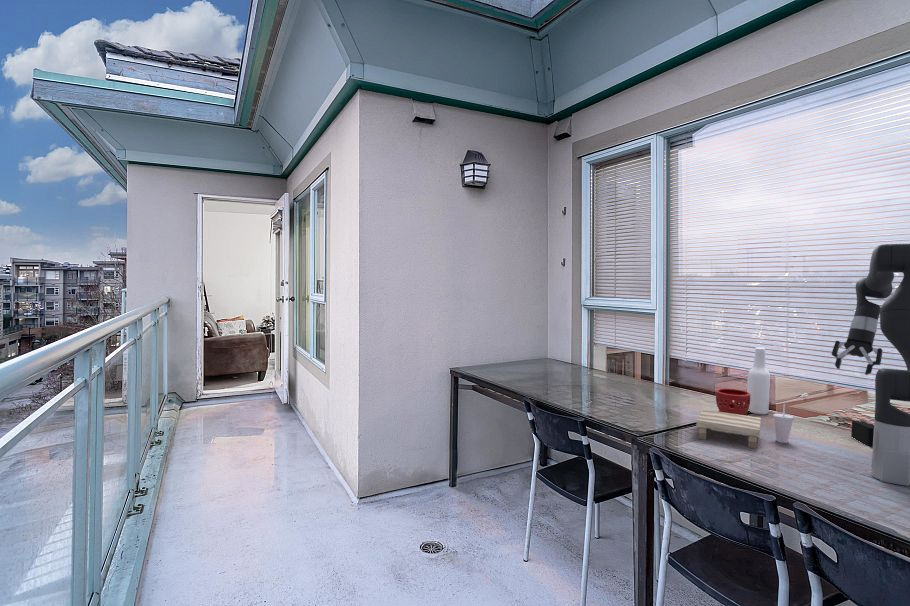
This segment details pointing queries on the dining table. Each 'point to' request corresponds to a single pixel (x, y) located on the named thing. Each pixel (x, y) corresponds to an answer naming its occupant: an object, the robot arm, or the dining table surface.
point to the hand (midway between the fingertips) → (852, 371)
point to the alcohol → (759, 384)
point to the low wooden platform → (729, 424)
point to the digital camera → (863, 432)
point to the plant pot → (726, 403)
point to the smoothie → (783, 426)
